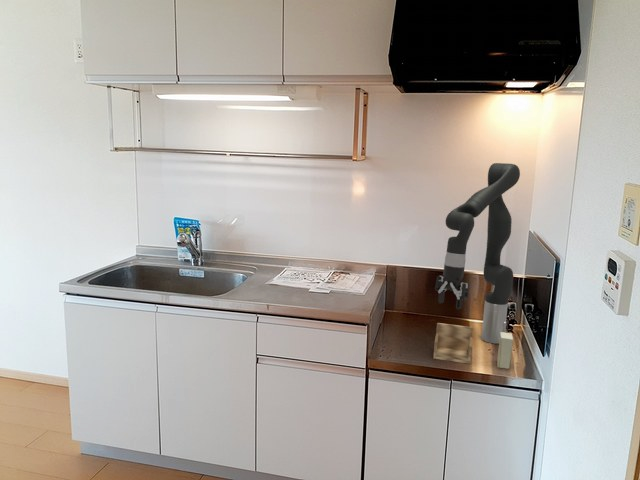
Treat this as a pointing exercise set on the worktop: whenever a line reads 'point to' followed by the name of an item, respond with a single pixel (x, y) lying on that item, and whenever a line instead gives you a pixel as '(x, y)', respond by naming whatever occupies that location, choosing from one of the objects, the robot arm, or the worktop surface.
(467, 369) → the worktop surface
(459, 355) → the caddy
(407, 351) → the worktop surface
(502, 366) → the skincare box
